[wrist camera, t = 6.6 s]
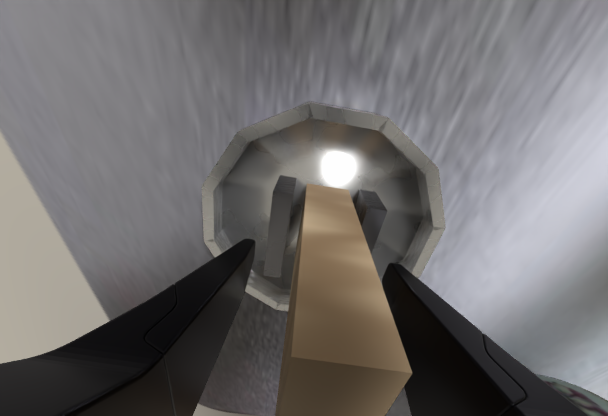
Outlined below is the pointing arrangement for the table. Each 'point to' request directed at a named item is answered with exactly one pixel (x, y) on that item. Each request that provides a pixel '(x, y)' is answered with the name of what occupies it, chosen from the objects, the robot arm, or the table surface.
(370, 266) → the wooden plank
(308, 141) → the tin
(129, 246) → the table surface
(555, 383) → the bowl
